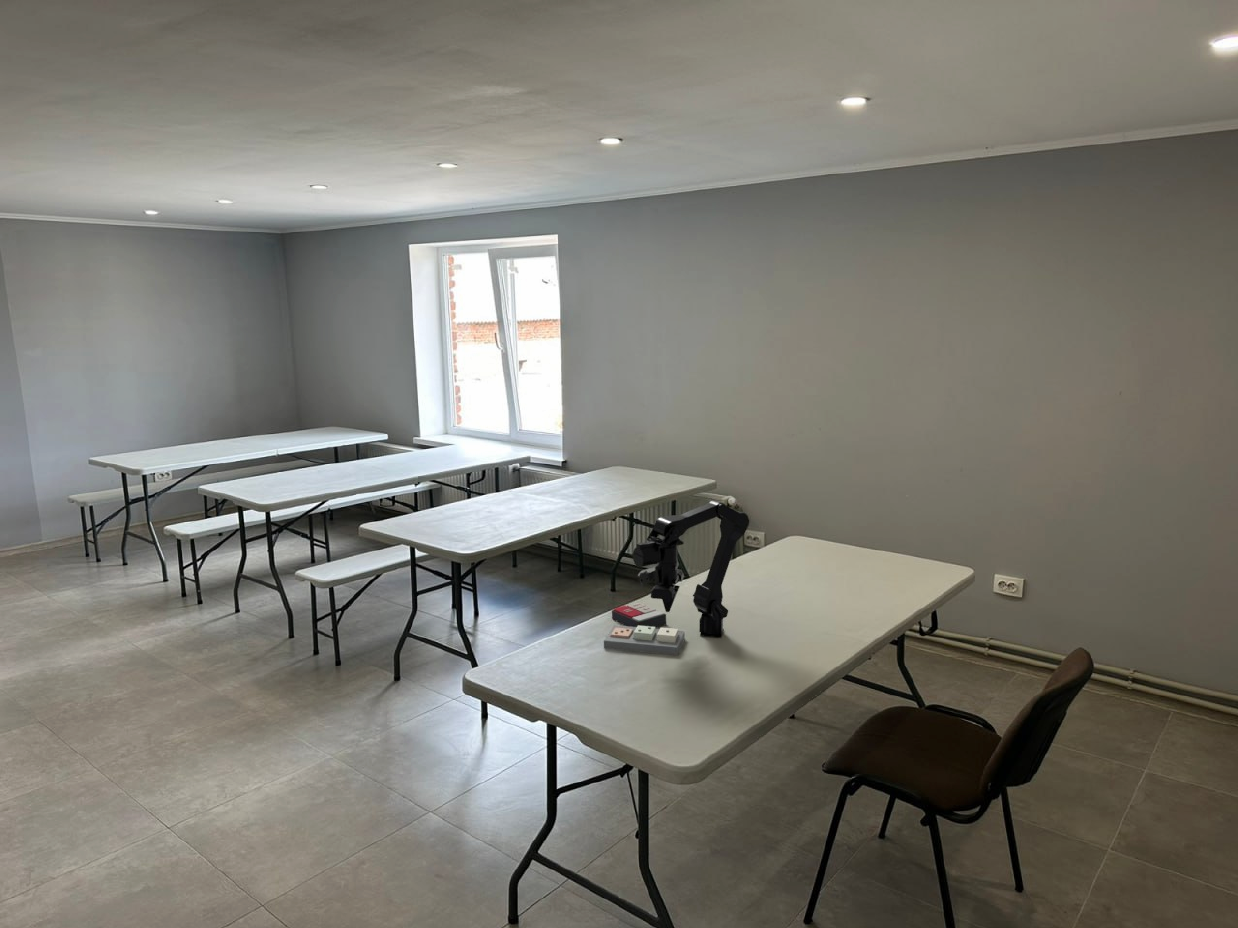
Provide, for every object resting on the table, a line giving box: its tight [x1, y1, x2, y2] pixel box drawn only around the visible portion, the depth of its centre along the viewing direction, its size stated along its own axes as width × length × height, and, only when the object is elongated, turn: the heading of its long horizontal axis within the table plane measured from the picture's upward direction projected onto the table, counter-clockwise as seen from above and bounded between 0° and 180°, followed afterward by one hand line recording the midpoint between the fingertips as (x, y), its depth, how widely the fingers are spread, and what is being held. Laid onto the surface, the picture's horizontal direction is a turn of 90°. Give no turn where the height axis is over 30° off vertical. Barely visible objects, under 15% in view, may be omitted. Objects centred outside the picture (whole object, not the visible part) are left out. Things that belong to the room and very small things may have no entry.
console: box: [603, 624, 685, 656], centre depth 240 cm, size 22×12×2 cm, turn 75°
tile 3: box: [611, 628, 633, 639], centre depth 241 cm, size 5×5×3 cm
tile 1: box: [657, 626, 679, 643], centre depth 237 cm, size 5×5×3 cm
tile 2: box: [634, 625, 656, 641], centre depth 239 cm, size 5×5×3 cm
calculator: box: [611, 602, 667, 629], centre depth 257 cm, size 11×4×15 cm
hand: (667, 611), depth 236 cm, fingers closed
